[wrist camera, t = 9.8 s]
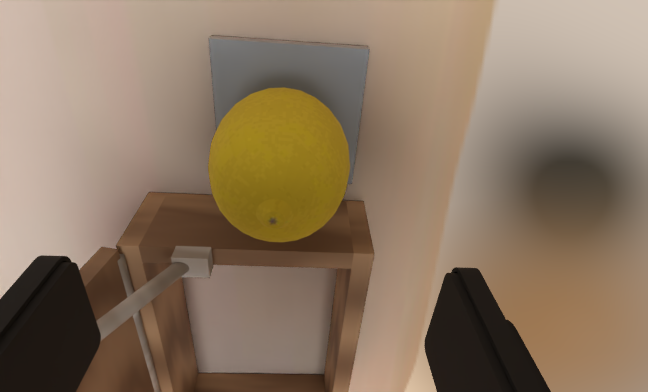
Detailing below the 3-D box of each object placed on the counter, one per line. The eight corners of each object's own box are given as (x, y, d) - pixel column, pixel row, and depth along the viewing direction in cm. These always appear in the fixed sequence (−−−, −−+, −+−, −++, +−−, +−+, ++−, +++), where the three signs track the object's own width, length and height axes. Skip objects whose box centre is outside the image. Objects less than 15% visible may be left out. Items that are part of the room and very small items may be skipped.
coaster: (350, 178, 22) (351, 183, 21) (222, 172, 21) (220, 177, 21) (367, 46, 18) (369, 49, 18) (211, 35, 18) (208, 38, 17)
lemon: (252, 43, 17) (216, 111, 11) (362, 96, 19) (393, 186, 12) (213, 147, 20) (164, 254, 13) (312, 186, 21) (314, 301, 15)
